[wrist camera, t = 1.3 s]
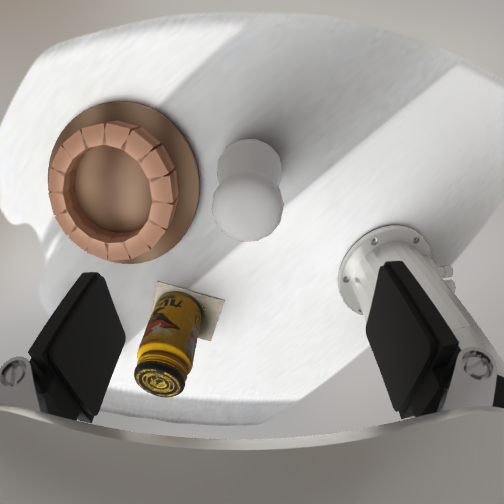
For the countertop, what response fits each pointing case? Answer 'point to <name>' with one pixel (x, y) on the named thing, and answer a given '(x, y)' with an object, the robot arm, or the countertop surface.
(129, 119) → the brick fire pit
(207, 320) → the condiment
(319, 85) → the countertop surface
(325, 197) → the countertop surface
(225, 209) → the salt shaker
